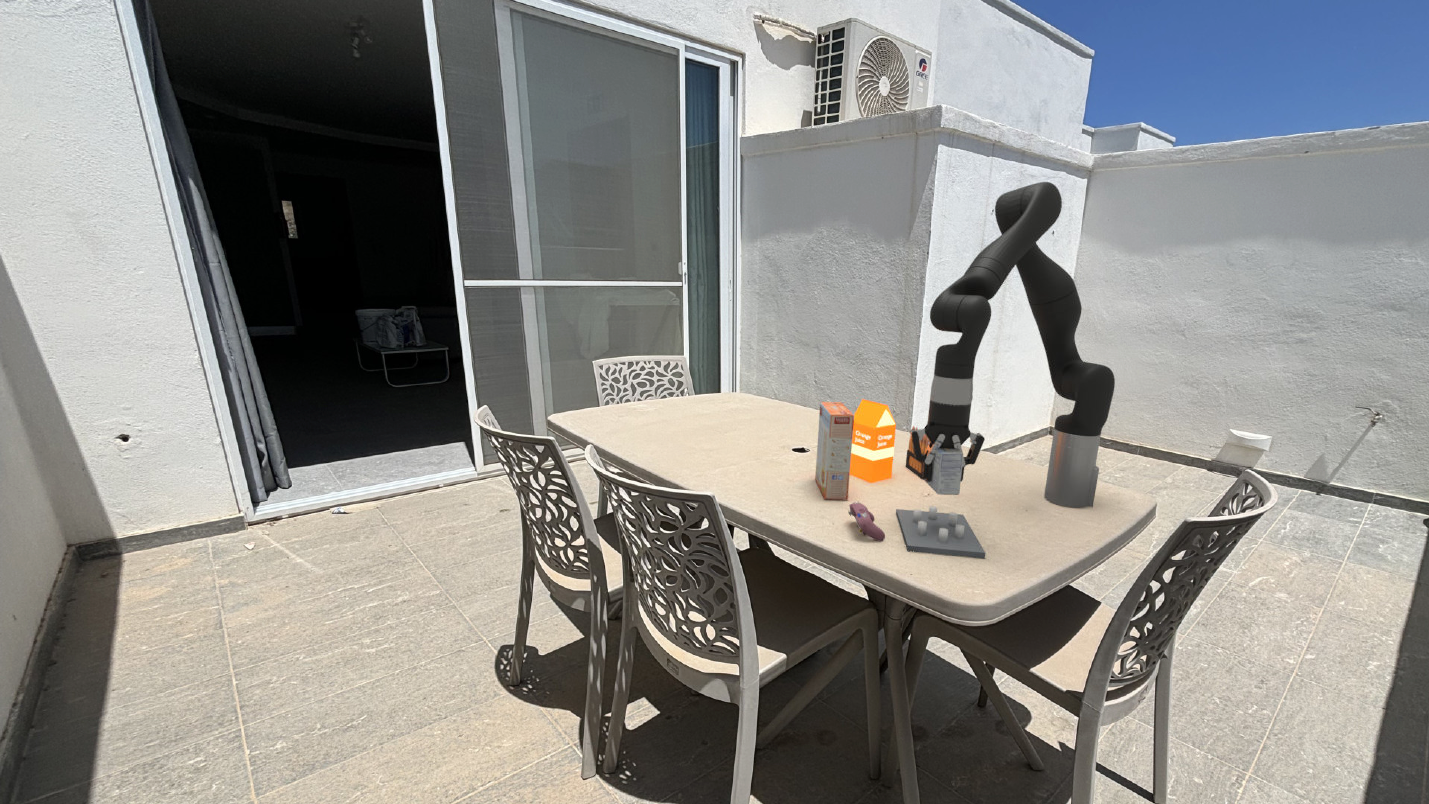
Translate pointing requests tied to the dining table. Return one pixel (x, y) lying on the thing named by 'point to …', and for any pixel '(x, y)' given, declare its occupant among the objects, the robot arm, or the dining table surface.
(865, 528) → the video game controller
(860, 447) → the orange juice
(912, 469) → the ammunition clip
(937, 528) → the stub jig
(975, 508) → the dining table surface
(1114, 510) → the dining table surface
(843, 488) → the cracker box
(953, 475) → the medicine box
